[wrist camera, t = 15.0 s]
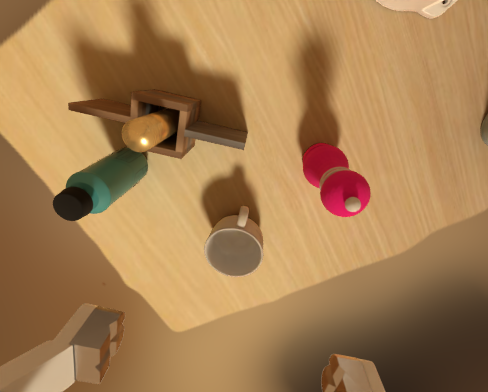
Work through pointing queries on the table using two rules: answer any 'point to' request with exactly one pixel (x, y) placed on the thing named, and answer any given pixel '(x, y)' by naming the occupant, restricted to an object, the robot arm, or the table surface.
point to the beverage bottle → (100, 184)
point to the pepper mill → (335, 180)
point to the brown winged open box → (150, 103)
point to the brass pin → (150, 129)
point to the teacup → (235, 245)
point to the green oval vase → (485, 130)
